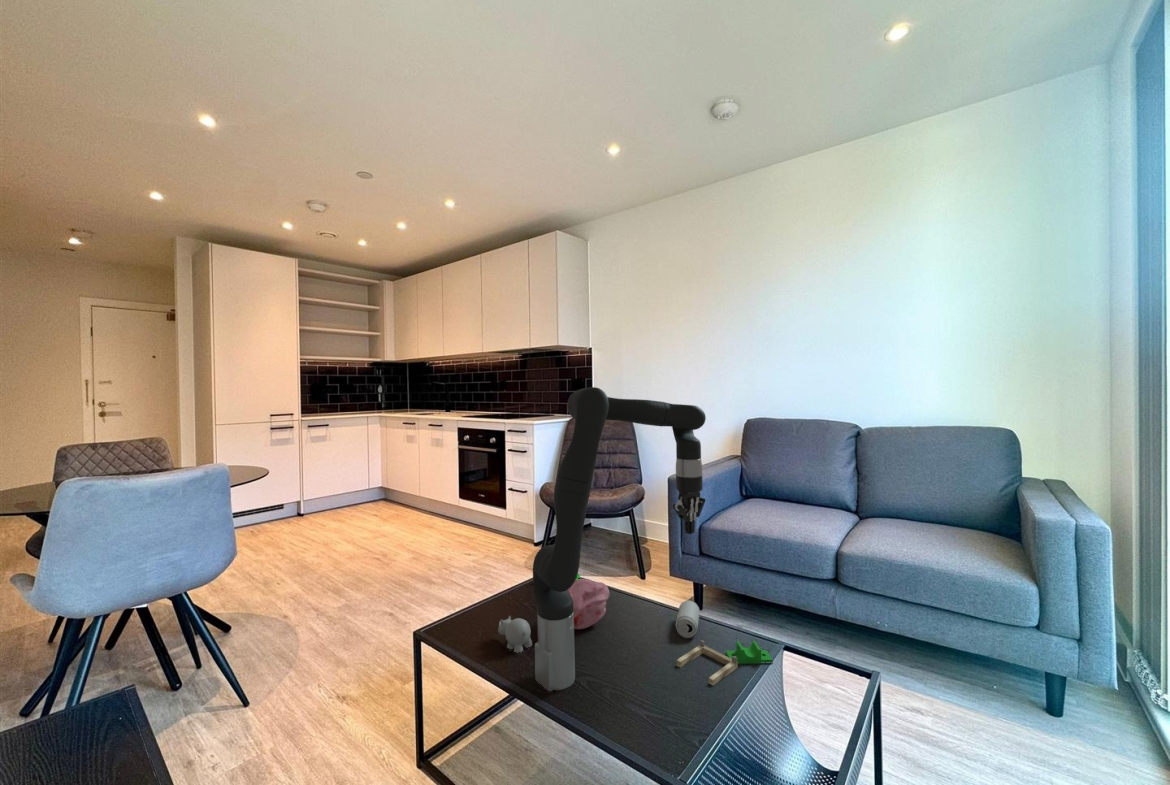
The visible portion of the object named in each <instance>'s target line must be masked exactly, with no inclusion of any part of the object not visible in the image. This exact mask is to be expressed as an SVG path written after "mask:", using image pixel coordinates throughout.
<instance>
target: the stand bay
mask: <svg viewBox="0 0 1170 785" xmlns="http://www.w3.org/2000/svg"><path fill="white" fill-rule="evenodd" d="M701 655H705V656H707V657H709V658H711V659H713V660H715V661H717V662H719V663H722V664H723V665H725V666H723V667H722V668H720V669H719V670H718V671H716V672H715V673H713V674H711V676H709V677H708V684H710V686H715V685H716V684H717V683H719V682H720V681H723V679H724V678H726V677H727V676H729V675H730V674H732V673H733V672H734V671H736V670H738V668H739V666H738V665H739V663H738V662H737V657H736V656H732V659H731V658H729V657H727V655H726V654H722V653H721V652H718V651H717V650H715V649H713V648H711V647H709V646H707V645H705V640H703V639H701V640H699V645H697V646H696V647H694V648H693V649H691V650H689V651H688V652H686V653H685V654H683V655H682V656H681V657H679V658H678V659H676V666H677V667H679V668H682V667H684V666H685V665H687V664H689V663H690V662H691V661H693V660H694V659H696V658H698V657H699V656H701Z"/></svg>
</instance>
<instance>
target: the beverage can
mask: <svg viewBox="0 0 1170 785" xmlns="http://www.w3.org/2000/svg"><path fill="white" fill-rule="evenodd" d="M700 612H701V611H700V607H699V605H698V604H697V603H696V602H694V601H693V600H684V601H682V602H681V603H680V605H679V608H678V612H677V616H676V620H675V629H676V631H677V633H678V635H679V636H681V637H682V638H685V639H691V638H693V637H694V636H695V635H696V634H697V631H698V628H699V627H698V626H699V620H700ZM688 625H689V626H690V627H689V626H688ZM689 631H690V632H689Z"/></svg>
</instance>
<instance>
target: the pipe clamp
mask: <svg viewBox="0 0 1170 785" xmlns="http://www.w3.org/2000/svg"><path fill="white" fill-rule="evenodd" d="M751 642H752V643H751V645H750V646H748V647H744V646H742V644H741V642H740V640H736V650H725V656H727V657H729V658H731V659H732V656H736V657H737V662H738V664H762V663H761V662H772V663H771V664H774V661H773V658H772V657H771V655H770V654H769V652H768V650H766V649H765V650H764V649H761V648H760V646H759V645H758V643H757V642H756V641H755V640H752V641H751Z"/></svg>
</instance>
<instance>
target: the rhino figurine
mask: <svg viewBox="0 0 1170 785" xmlns="http://www.w3.org/2000/svg"><path fill="white" fill-rule="evenodd" d="M498 623H499V624H498V629H497V631H498V634H499V635H501V636H505V639H506V641H507V645H506V649H507V648H509V649H513V648H514V650H513V653H514V652H516V653H518V652H522V651H523V652H524V647H527V648H528V647H531V646H532V647H533V641H532V639H531V638H532V637H531V626H530V624H529V622H528V621H527V620H525V619H523V618H520V617H517V618H514V619H512V617H511V615H508V617H507V619H504V620H503V619H500V620H499V622H498ZM523 646H524V647H523ZM532 647H531V648H532ZM528 649H529V648H528Z"/></svg>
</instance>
